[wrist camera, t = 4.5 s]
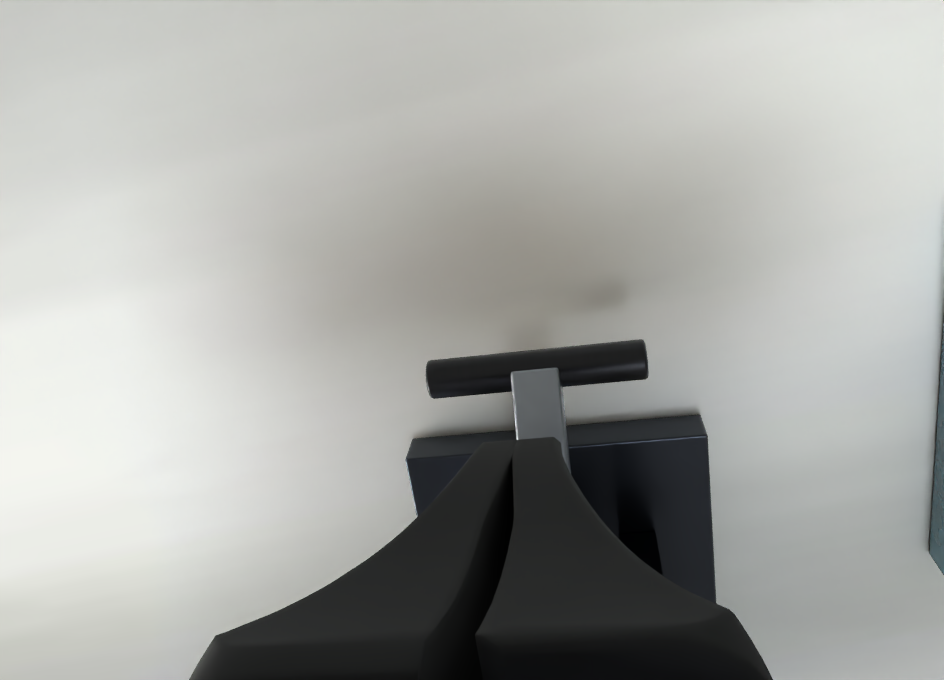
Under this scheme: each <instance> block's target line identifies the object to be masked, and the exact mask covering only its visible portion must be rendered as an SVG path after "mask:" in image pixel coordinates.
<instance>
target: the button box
mask: <svg viewBox="0 0 944 680" xmlns="http://www.w3.org/2000/svg"><path fill="white" fill-rule="evenodd" d="M930 555H931V557H932V558H933V560H934V561H935V563H936V564H937V566H938V567H939V568H940V570H941V571H942V573H943V574H944V325H943V341H942V357H941V373H940V390H939V406H938V422H937V439H936V455H935V471H934V488H933V504H932V520H931V536H930Z"/></svg>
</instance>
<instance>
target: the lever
mask: <svg viewBox="0 0 944 680" xmlns="http://www.w3.org/2000/svg"><path fill="white" fill-rule="evenodd" d="M647 378H648V360H647V351H646V345H645V342H644V340H631V341H621V342H611V343H600V344H590V345H580V346H570V347H560V348H550V349H540V350H530V351H520V352H510V353H499V354H489V355H479V356H469V357H459V358H449V359H439V360H430V361H428V363H427V366H426V383H427V389H428V392H429V395H430V397H431V398H434V399H435V398H446V397H457V396H468V395H479V394H490V393H501V392H512V398H513V409H514V420H515V430H516V440H519V439H531V438H543V437H555V438H556V439H557V440H558V441H560V442H561V448H562V455H563V458H564V460H565V463H566V465H567V467H568V469H569V471H570V473H571V468H570V458H569V448H568V438H567V427H566V417H565V407H564V397H563V387H566V386H577V385H588V384H599V383H610V382H621V381H632V380H643V379H647Z"/></svg>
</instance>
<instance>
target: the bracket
mask: <svg viewBox="0 0 944 680" xmlns="http://www.w3.org/2000/svg"><path fill="white" fill-rule="evenodd" d="M566 427H567V438H568V448H569V458H570V468H571V475H572V477H573V479H574V481H575V482H576V484H577V485H578V487H579V489H580V490H581V492H582V494H583V495H584V497H585V498H586V500H587V501H588V503H589V504H590V505H591V507H592V508H593V509H594V511H595V512H596V513H597V515H598V516H599V517H600V519H601V520H602V521H603V522H604V523H605V525H606V526H607V527H608V528H609V529H610V530H611V531H612V533H613V534H614V535H615V536H616V537H617V538H618V539H619V540H620V541H621V542H622V543H623V544H624V545H625V546H626V547H627V548H628V549H629V550H631V551H632V552H633V553H634V554H635V555H636V556H637V557H638V558H639V559H641V560H642V561H643V562H644V563H646V564H647V565H648V566H650V567H651V568H652V569H654V570H655V571H657V572H658V573H659V574H661V575H662V576H663V577H665V578H667V579H668V580H670V581H672V582H673V583H675V584H677V585H678V586H680V587H682V588H684V589H685V590H687V591H689V592H691V593H693V594H695V595H698V596H700V597H702V598H704V599H707V600H709V601H711V602H713V603H715V604H716V589H715V570H714V551H713V532H712V513H711V493H710V474H709V455H708V436H707V433H706V430H705V427H704V424H703V421H702V418H701V416H700V415H689V416H677V417H665V418H653V419H642V420H630V421H618V422H606V423H594V424H583V425H571V426H566ZM507 440H516V430H512V431H500V432H488V433H476V434H464V435H452V436H441V437H429V438H417V439H413V440H412V443H411V445H410V448H409V451H408V454H407V457H406V460H405V461H406V465H407V470H408V475H409V480H410V485H411V490H412V495H413V500H414V505H415V510H416V515H417V517H418V516H419V515H420V514H421V513H422V512H423V511H424V510H425V509H426V508H427V507H428V506H429V505H430V504H431V503H432V502H433V501H434V500H435V499H436V498H437V496H438V495H439V494H440V493H441V492H442V491H443V490H444V488H445V487H446V486H447V485H448V484H449V483H450V481H451V480H452V479H453V478H454V477H455V475H456V474H457V473H458V472H459V471H460V469H461V468H462V467H463V466H464V464H465V463H466V462H467V461H468V459H469V458H470V457H471V456H472V454H473V453H474V452H475V451H476V450H477V449H478V448H479V446H480V445H481V444H482V443H483V442H495V441H507Z"/></svg>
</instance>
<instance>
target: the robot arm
mask: <svg viewBox="0 0 944 680" xmlns="http://www.w3.org/2000/svg"><path fill="white" fill-rule="evenodd" d="M189 680H773V679H772V677H771V675H770V673H769V671H768V669H767V667H766V665H765V663H764V661H763V659H762V657H761V656H760V654H759V652H758V650H757V649H756V647H755V645H754V644H753V642H752V640H751V639H750V637H749V636H748V634H747V632H746V631H745V629H744V628H743V626H742V625H741V623H740V622H739V620H738V619H737V617H736V616H735V614H734V613H733V612H732V611H730V610H729V609H727V608H724V607H722V606H720V605H718V604H715V603H713V602H711V601H709V600H707V599H704V598H702V597H700V596H698V595H695V594H693V593H691V592H689V591H687V590H685V589H684V588H682V587H680V586H678V585H677V584H675V583H673V582H672V581H670V580H668V579H667V578H665V577H663V576H662V575H661V574H659V573H658V572H657V571H655V570H654V569H652V568H651V567H650V566H648V565H647V564H646V563H644V562H643V561H642V560H641V559H639V558H638V557H637V556H636V555H635V554H634V553H633V552H632V551H631V550H629V549H628V548H627V547H626V546H625V545H624V544H623V543H622V542H621V541H620V540H619V539H618V538H617V537H616V536H615V535H614V534H613V533H612V531H611V530H610V529H609V528H608V527H607V526H606V525H605V523H604V522H603V521H602V520H601V519H600V517H599V516H598V515H597V513H596V512H595V511H594V509H593V508H592V507H591V505H590V504H589V503H588V501H587V500H586V498H585V497H584V495H583V494H582V492H581V490H580V489H579V487H578V485H577V484H576V482H575V481H574V479H573V477H572V475H571V473H570V471H569V469H568V467H567V465H566V463H565V460H564V458H563V455H562V448H561V442H560V441H558V440H557V439H556V438H555V437H543V438H531V439H519V440H507V441H495V442H483V443H482V444H481V445H480V446H479V448H478V449H477V450H476V451H475V452H474V453H473V454H472V456H471V457H470V458H469V459H468V461H467V462H466V463H465V464H464V466H463V467H462V468H461V469H460V471H459V472H458V473H457V474H456V475H455V477H454V478H453V479H452V480H451V481H450V483H449V484H448V485H447V486H446V487H445V488H444V490H443V491H442V492H441V493H440V494H439V495H438V496H437V498H436V499H435V500H434V501H433V502H432V503H431V504H430V505H429V506H428V507H427V508H426V509H425V510H424V511H423V512H422V513H421V514H420V515H419V516H418V517H417V518H416V519H415V520H414V521H413V522H412V523H411V524H410V525H409V526H408V527H407V528H406V529H405V530H404V531H402V532H401V533H400V534H399V535H398V536H397V537H395V538H394V539H393V540H392V541H391V542H389V543H388V544H387V545H386V546H384V547H383V548H382V549H380V550H379V551H378V552H377V553H375V554H374V555H373V556H371V557H370V558H369V559H367V560H366V561H364V562H363V563H361V564H360V565H358V566H357V567H355V568H354V569H352V570H350V571H349V572H347V573H346V574H344V575H343V576H341V577H340V578H338V579H337V580H335V581H334V582H332V583H330V584H329V585H327V586H325V587H324V588H322V589H320V590H318V591H316V592H314V593H313V594H311V595H309V596H307V597H305V598H303V599H301V600H299V601H297V602H295V603H293V604H291V605H289V606H287V607H285V608H283V609H281V610H279V611H277V612H274V613H272V614H270V615H267V616H265V617H263V618H260V619H258V620H255V621H253V622H250V623H248V624H245V625H243V626H240V627H238V628H235V629H233V630H230V631H228V632H225V633H222V634H219V635H216V636H215V638H214V639H213V641H212V642H211V644H210V645H209V647H208V648H207V650H206V652H205V653H204V655H203V656H202V658H201V659H200V661H199V663H198V664H197V666H196V668H195V670H194V672H193V674H192V676H191V677H190V679H189Z"/></svg>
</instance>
